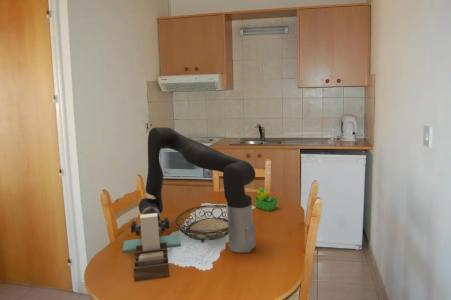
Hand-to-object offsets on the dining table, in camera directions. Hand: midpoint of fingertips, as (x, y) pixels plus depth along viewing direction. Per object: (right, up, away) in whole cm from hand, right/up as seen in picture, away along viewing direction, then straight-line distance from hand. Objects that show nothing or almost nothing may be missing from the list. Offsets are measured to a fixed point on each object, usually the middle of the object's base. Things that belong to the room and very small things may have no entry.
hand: (150, 231), depth 136 cm
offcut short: (+2, -10, -4) cm, 11 cm away
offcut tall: (+3, -11, -12) cm, 17 cm away
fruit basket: (+48, 0, +55) cm, 73 cm away
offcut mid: (+2, -11, -8) cm, 14 cm away
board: (-2, -9, +13) cm, 16 cm away
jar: (+32, -4, +36) cm, 49 cm away
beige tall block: (+1, -10, 0) cm, 10 cm away
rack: (+2, -11, -6) cm, 13 cm away
